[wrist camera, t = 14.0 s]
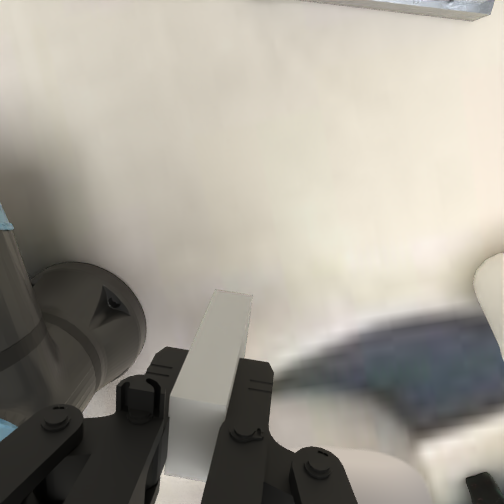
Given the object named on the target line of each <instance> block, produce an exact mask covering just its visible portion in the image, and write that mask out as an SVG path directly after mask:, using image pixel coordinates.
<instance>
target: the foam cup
mask: <svg viewBox="0 0 504 504" xmlns="http://www.w3.org/2000/svg"><path fill="white" fill-rule="evenodd" d="M473 286H474V290H475V294H476V296H477V299H478V301H479V303H480V305H481V308H482V310H483V312H484V314H485V316H486V318H487V320H488V323H489V325H490V327H491V329H492V331H493V333H494V335H495V338H496V340H497V342H498V344H499V346H500V350H501V354H502V358H503V360H504V253H498V254H496V255H494V256H492V257H490V258H488V259H486V260H485V261H484V262H483V263H482V264H481V266H480V267H479V268H478V269H477V270H476V273H475V277H474V280H473Z"/></svg>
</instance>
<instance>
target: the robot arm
mask: <svg viewBox="0 0 504 504" xmlns="http://www.w3.org/2000/svg"><path fill="white" fill-rule="evenodd" d="M12 230H14V227H13V225H12V224H11V223H9V221H8V219H7V217H6V214H5V212H4V210H3V208H2V205H1V203H0V504H155V501H156V498H157V495H158V492H159V486H160V475H161V473H162V470H163V467H164V464H165V472H164V475H169V476H175V477H180V478H186V479H191V480H197V481H202V482H206V485H205V489H204V493H203V497H202V501H201V504H358V503H357V500H356V498H355V496H354V493H353V490H352V488H351V485H350V482H349V480H348V478H347V475H346V472H345V470H344V467H343V465H342V464H341V462H340V460H339V459H338V458H337V457H336V456H335V455H334V454H332V453H331V452H329V451H327V450H325V449H323V448H319V447H312V446H311V447H305V448H302V449H300V450H299V451H297V452H296V453H294V452H292V451H290V450H287V449H286V448H284V447H282V446H280V445H279V444H278V443H277V442H276V441H275V440H274V439H273V437H272V436H271V434H270V432H269V425H268V424H269V415H270V405H271V395H272V386H273V376H274V372H273V370H272V368H271V366H270V364H269V363H268V362H262V361H256V360H250V359H244V356H245V349H246V342H247V335H248V327H249V320H250V313H251V305H252V298H253V295H248V294H241V293H235V292H229V291H222V290H216V289H215V292H214V294H213V296H212V299H211V301H210V303H209V306H208V308H207V310H206V313H205V315H204V317H203V320H202V322H201V324H200V327H199V329H198V331H197V334H196V336H195V338H194V341H193V343H192V345H191V348H190V350H184V349H178V348H172V347H165V348H164V349H162V350H161V351H159V352H158V353H157V354H156V355H155V356H154V358H153V360H152V362H151V364H150V366H149V367H148V369H147V371H146V374H145V375H134V376H130V377H128V378H126V379H123V380H122V381H121V382H120V383H119V384H118V385H117V386H116V412H115V413H114V414H112V415H109V416H105V417H97V418H83V414H82V412H83V411H84V409H85V408H86V406H87V405H88V403H89V402H90V400H91V398H92V397H93V395H94V394H95V392H97V391H98V390H100V389H101V388H102V387H104V386H105V385H107V384H108V383H110V382H112V381H114V380H116V379H117V378H119V377H120V376H122V375H123V374H124V373H125V372H126V371H127V370H128V369H129V368H130V367H131V366H132V365H133V363H134V362H135V360H136V358H137V357H138V355H139V354H140V352H141V350H142V348H143V345H144V342H145V337H146V322H145V317H144V313H143V310H142V308H141V306H140V303H139V302H138V300H137V298H136V297H135V295H134V294H133V292H132V291H131V290H130V289H129V288H128V287H127V286H126V285H125V284H124V283H123V282H122V281H121V280H120V279H118V278H117V277H116V276H114V275H113V274H111V273H109V272H108V271H106V270H104V269H102V268H99V267H96V266H93V265H90V264H85V263H78V262H68V263H61V264H57V265H53V266H51V267H49V268H47V269H45V270H43V271H42V272H40V273H39V274H37V275H36V276H35V277H33V278H32V279H31V280H29V277H28V274H27V271H26V269H25V266H24V263H23V260H22V257H21V254H20V251H19V248H18V245H17V242H16V239H15V237H14V234H13V231H12Z"/></svg>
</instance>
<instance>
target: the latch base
mask: <svg viewBox="0 0 504 504" xmlns="http://www.w3.org/2000/svg"><path fill="white" fill-rule="evenodd" d="M301 1H309V2H317V3H326V4H334V5H342V6H351V7H359V8H367V9H376V10H384V11H392V12H401V13H409V14H417V15H426V16H434V17H442V18H451V19H459V20H467V21H474V20H477V19H480V18H482V17H485V16H488V15H491V11H492V8H493V4H494V0H301Z"/></svg>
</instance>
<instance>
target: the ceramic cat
mask: <svg viewBox="0 0 504 504" xmlns="http://www.w3.org/2000/svg"><path fill="white" fill-rule="evenodd" d="M466 483H467V486H468V489H469V492H470V495H471V499H472V503H473V504H504V496H503V494H502V492H501V491H500V489H499V487H498V486H497V484H496V483H495V481H494V480H493V478H492V477H491V476H490V475H489V474H488V473H481V474H479V475H476V476H475V477H470V478H466Z"/></svg>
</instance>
